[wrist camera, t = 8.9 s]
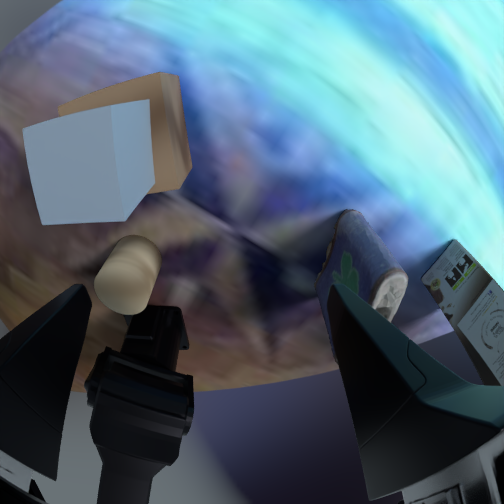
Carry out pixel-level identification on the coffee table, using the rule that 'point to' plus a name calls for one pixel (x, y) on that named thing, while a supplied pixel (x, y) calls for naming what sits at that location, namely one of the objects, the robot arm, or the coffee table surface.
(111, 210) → the blue cube
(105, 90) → the tan block
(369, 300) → the flask
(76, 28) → the coffee table surface
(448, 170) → the coffee table surface
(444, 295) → the coffee box
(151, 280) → the beech cylinder
